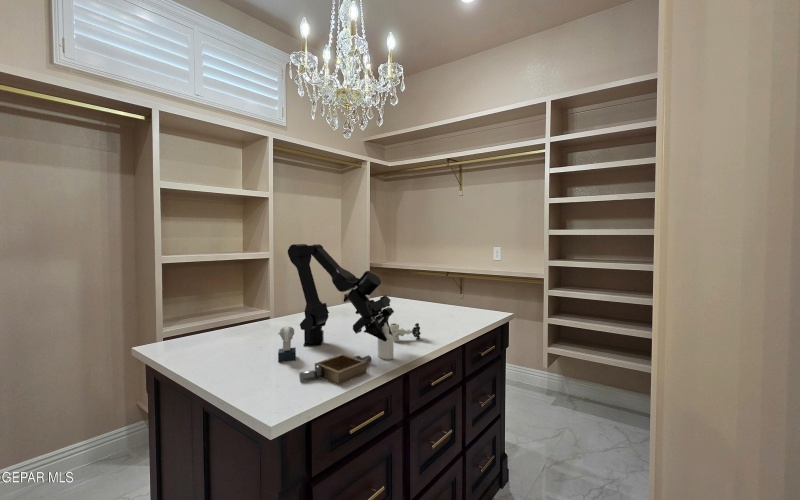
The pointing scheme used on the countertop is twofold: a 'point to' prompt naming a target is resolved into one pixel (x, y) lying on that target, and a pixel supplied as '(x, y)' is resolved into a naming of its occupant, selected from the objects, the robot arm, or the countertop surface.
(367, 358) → the input shaft
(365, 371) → the square brown wooden tray
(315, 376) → the output shaft
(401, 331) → the valve
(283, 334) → the rubber stamp
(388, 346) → the white bottle
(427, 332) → the countertop surface
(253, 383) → the countertop surface
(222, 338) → the countertop surface
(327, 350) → the countertop surface
